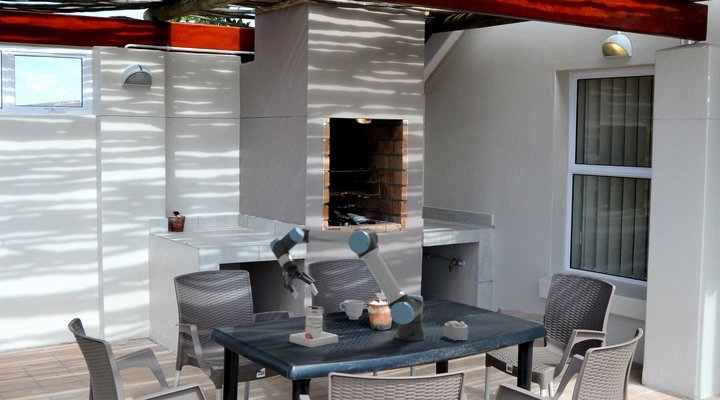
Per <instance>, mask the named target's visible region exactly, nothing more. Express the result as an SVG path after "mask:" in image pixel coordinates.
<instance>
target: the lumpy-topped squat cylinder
mask: <svg viewBox="0 0 720 400" xmlns="http://www.w3.org/2000/svg"><path fill="white" fill-rule="evenodd" d="M468 328H469V327H468V324H466V323H465V322H464V321H460V322H459V321H457V320H449V321H447V322H445V323H444V326H443V337H444V336H445V337H448V338H450V339H454V340H453V341H456V340H463V341H462V342H464V340H466V341H467V340H468ZM445 337H444V338H445ZM450 339H449V340H450Z"/></svg>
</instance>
